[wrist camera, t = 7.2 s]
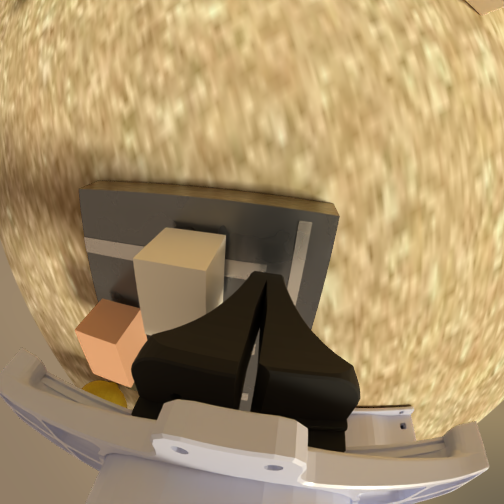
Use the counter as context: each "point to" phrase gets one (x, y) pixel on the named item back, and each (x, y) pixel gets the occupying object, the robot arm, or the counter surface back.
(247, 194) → the panel
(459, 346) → the counter surface
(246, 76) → the counter surface
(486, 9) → the milk
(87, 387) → the lemon
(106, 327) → the block
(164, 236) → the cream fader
